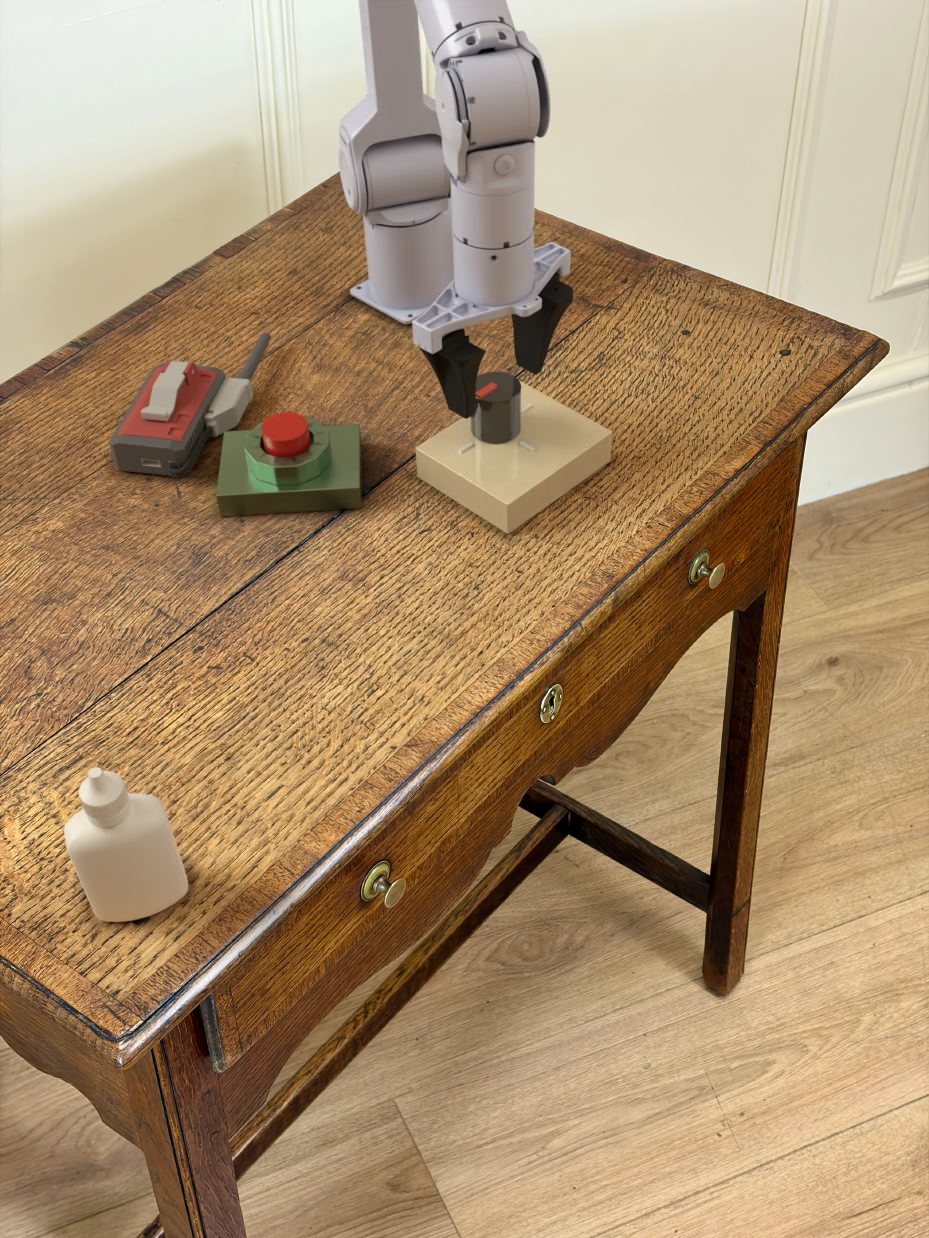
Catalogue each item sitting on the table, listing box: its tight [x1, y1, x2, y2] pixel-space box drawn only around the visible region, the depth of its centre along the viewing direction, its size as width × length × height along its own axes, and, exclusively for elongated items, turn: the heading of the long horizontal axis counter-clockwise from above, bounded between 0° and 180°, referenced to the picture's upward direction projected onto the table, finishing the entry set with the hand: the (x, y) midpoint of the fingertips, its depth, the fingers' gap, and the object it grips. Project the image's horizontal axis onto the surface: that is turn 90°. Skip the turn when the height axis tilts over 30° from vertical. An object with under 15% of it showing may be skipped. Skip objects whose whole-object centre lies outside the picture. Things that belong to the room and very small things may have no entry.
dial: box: [470, 371, 521, 444], centre depth 101 cm, size 4×4×4 cm
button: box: [261, 411, 311, 458], centre depth 101 cm, size 4×4×2 cm
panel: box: [414, 380, 613, 535], centre depth 103 cm, size 12×11×3 cm
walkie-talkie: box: [108, 332, 272, 479], centre depth 109 cm, size 9×4×20 cm
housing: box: [215, 415, 363, 517], centre depth 102 cm, size 11×8×4 cm
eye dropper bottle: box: [63, 766, 189, 923], centre depth 73 cm, size 4×6×12 cm
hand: (495, 389), depth 100 cm, fingers open, 7 cm apart
